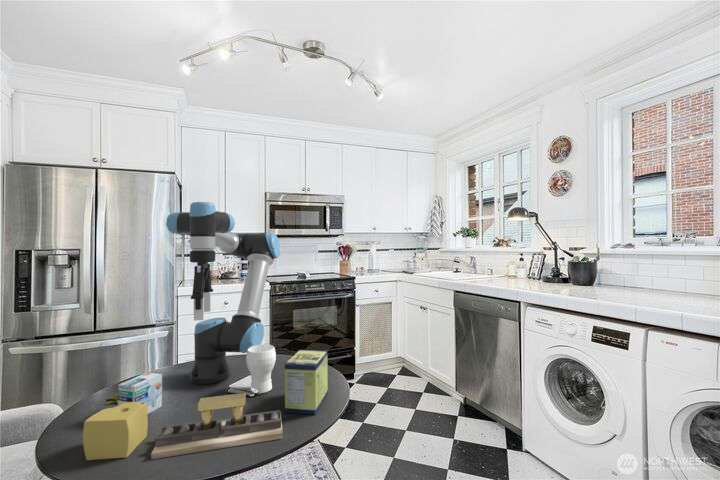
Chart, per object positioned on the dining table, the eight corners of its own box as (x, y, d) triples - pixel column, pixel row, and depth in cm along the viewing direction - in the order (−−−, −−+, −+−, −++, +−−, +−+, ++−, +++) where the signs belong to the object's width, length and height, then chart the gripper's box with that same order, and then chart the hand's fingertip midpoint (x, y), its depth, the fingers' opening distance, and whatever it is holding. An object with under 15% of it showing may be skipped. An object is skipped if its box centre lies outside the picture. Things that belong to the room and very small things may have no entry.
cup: (267, 396, 118) (267, 353, 118) (240, 394, 120) (240, 352, 120) (280, 384, 128) (280, 344, 129) (255, 382, 130) (255, 343, 131)
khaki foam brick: (200, 430, 94) (200, 398, 94) (245, 424, 97) (245, 392, 97) (198, 437, 90) (198, 403, 90) (245, 430, 94) (244, 398, 94)
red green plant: (96, 409, 110) (96, 395, 110) (112, 394, 122) (112, 381, 122) (138, 404, 114) (138, 391, 114) (149, 389, 125) (149, 377, 125)
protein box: (328, 393, 120) (327, 350, 120) (316, 415, 105) (315, 365, 105) (300, 391, 122) (299, 348, 122) (284, 413, 106) (283, 363, 107)
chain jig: (164, 433, 95) (165, 420, 95) (280, 417, 104) (280, 405, 104) (151, 459, 83) (151, 444, 84) (282, 438, 92) (282, 424, 92)
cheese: (109, 438, 93) (109, 402, 93) (150, 436, 94) (150, 400, 94) (81, 462, 83) (82, 421, 83) (127, 459, 84) (127, 419, 84)
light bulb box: (134, 422, 101) (134, 386, 102) (116, 419, 103) (116, 384, 103) (163, 405, 112) (163, 373, 112) (146, 403, 113) (146, 371, 114)
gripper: (197, 249, 120) (197, 309, 119) (180, 250, 96) (180, 325, 95) (220, 249, 122) (220, 308, 121) (209, 250, 98) (209, 323, 97)
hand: (202, 315), depth 108 cm, fingers open, 13 cm apart
